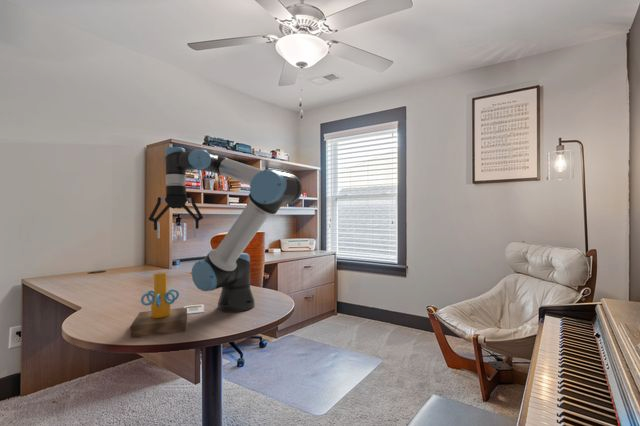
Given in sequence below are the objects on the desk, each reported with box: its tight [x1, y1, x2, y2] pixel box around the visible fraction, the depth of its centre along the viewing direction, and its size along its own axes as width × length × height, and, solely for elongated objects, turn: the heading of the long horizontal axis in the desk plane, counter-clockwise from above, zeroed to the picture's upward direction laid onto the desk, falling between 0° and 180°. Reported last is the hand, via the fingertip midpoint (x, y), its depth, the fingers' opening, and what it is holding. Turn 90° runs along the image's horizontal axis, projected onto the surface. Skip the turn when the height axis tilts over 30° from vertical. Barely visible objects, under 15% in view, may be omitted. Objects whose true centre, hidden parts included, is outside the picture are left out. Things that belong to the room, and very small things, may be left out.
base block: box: [130, 307, 188, 339], centre depth 116 cm, size 16×16×4 cm
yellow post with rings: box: [140, 271, 180, 318], centre depth 116 cm, size 12×10×15 cm
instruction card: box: [183, 303, 205, 315], centre depth 138 cm, size 8×12×1 cm, turn 19°
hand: (177, 237), depth 136 cm, fingers open, 13 cm apart
